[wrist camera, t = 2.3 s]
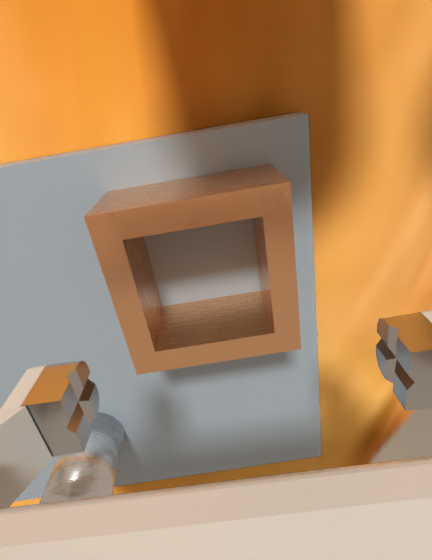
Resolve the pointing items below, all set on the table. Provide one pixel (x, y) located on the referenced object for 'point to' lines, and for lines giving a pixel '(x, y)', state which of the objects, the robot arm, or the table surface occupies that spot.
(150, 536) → the robot arm
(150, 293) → the collar
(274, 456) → the plate
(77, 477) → the piston
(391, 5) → the table surface
